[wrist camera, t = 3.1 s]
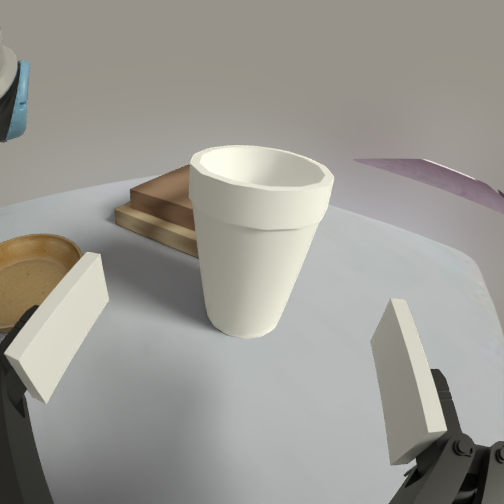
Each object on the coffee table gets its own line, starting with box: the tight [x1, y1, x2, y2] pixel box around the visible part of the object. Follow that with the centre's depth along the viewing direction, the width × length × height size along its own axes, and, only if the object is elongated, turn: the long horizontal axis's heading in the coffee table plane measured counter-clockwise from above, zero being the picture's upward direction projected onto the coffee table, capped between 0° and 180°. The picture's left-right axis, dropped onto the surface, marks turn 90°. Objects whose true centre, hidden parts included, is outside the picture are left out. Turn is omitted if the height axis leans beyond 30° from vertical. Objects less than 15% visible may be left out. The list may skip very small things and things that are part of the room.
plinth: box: [114, 165, 199, 258], centre depth 40 cm, size 15×15×4 cm
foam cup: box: [189, 145, 334, 339], centre depth 24 cm, size 10×9×13 cm
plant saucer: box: [0, 234, 83, 332], centre depth 24 cm, size 15×15×3 cm
